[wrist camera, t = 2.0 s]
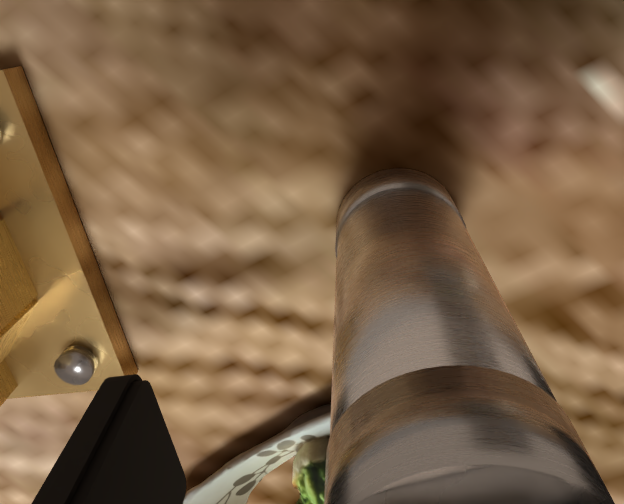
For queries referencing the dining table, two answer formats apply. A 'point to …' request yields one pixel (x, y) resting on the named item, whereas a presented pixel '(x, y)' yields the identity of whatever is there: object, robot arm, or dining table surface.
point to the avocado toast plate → (274, 464)
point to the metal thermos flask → (436, 367)
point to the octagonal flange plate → (47, 268)
